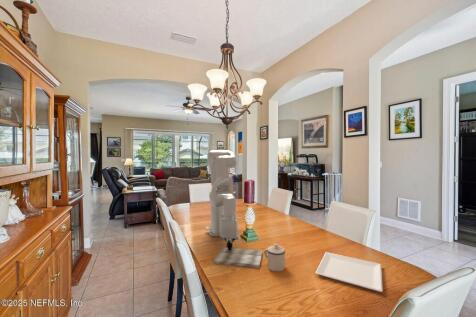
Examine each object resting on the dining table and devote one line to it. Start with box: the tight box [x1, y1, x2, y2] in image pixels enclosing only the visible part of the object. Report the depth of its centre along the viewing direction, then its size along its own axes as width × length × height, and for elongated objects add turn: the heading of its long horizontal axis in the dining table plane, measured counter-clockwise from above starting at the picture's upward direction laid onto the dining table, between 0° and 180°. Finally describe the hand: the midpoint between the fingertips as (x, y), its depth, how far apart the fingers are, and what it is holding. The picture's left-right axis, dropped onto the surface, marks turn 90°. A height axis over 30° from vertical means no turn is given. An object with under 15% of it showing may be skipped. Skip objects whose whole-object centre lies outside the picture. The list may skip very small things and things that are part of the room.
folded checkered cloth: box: [219, 246, 263, 259], centre depth 124 cm, size 24×6×2 cm, turn 78°
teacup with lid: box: [263, 243, 286, 272], centre depth 110 cm, size 12×9×12 cm
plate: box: [315, 251, 383, 293], centre depth 105 cm, size 26×26×2 cm
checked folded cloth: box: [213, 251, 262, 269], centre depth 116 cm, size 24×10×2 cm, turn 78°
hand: (229, 248), depth 127 cm, fingers closed
